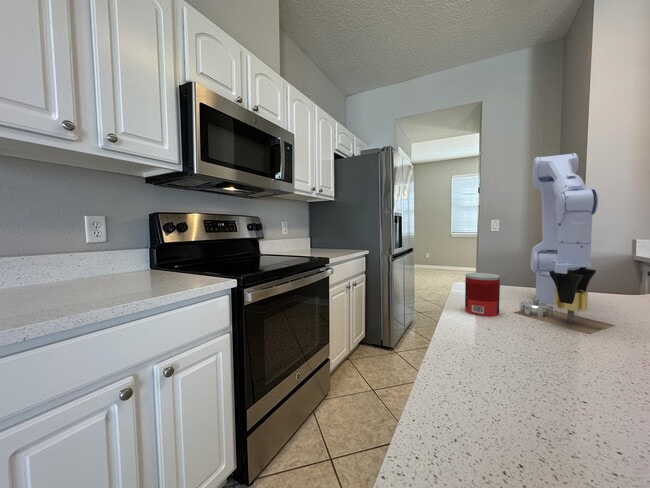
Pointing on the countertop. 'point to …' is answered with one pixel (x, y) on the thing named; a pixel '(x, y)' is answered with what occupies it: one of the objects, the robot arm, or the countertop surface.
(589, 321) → the gear board
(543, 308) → the gear
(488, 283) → the canned food
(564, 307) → the brass gear
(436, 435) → the countertop surface
